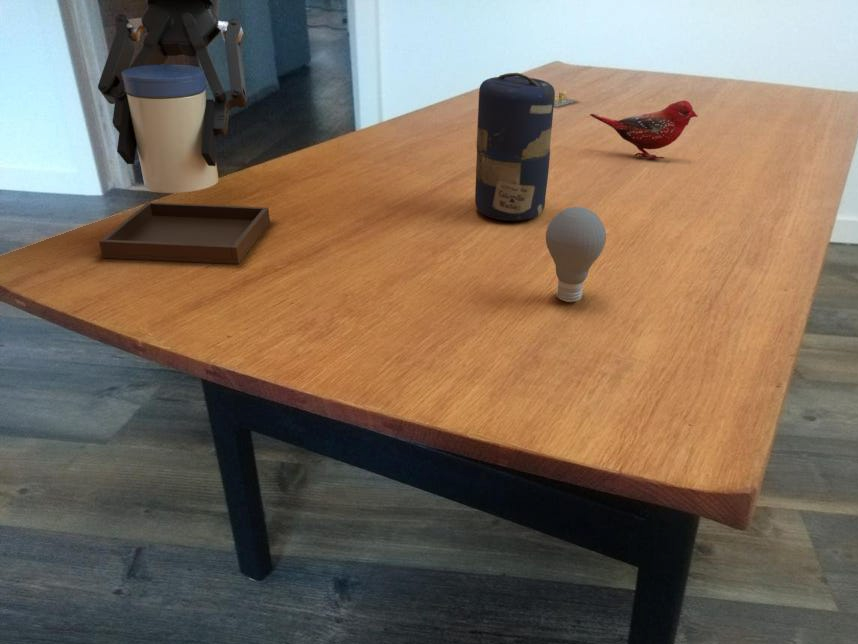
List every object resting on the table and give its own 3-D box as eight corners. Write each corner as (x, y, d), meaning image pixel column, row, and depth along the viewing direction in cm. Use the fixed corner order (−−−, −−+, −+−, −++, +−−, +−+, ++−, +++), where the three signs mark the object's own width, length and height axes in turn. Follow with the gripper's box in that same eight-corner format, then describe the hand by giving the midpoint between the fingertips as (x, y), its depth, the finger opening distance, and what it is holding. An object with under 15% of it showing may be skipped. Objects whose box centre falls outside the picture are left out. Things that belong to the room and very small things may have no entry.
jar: (132, 191, 82) (109, 81, 76) (160, 170, 89) (142, 68, 83) (205, 194, 82) (187, 85, 76) (228, 173, 89) (213, 71, 83)
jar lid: (110, 95, 77) (106, 76, 76) (143, 80, 84) (140, 63, 83) (190, 98, 77) (187, 80, 76) (216, 83, 84) (214, 66, 83)
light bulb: (552, 283, 82) (561, 194, 77) (605, 295, 80) (617, 205, 75) (531, 304, 77) (539, 211, 72) (586, 318, 75) (598, 223, 70)
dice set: (534, 100, 164) (535, 91, 163) (548, 97, 167) (549, 88, 167) (553, 104, 161) (554, 95, 160) (567, 101, 165) (567, 92, 164)
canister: (510, 197, 107) (518, 63, 98) (559, 215, 101) (572, 75, 92) (459, 210, 101) (463, 70, 92) (508, 231, 95) (517, 83, 86)
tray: (102, 258, 83) (98, 241, 82) (150, 217, 95) (147, 202, 94) (238, 264, 83) (236, 247, 82) (270, 222, 95) (268, 207, 94)
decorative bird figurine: (688, 166, 124) (699, 104, 119) (583, 152, 129) (590, 92, 124) (690, 161, 126) (701, 100, 121) (587, 148, 131) (594, 89, 126)
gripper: (284, 6, 90) (272, 177, 85) (107, 0, 89) (83, 173, 84) (270, -41, 83) (257, 143, 78) (78, -49, 82) (50, 138, 77)
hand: (167, 158), depth 81 cm, fingers closed on jar, 8 cm apart
